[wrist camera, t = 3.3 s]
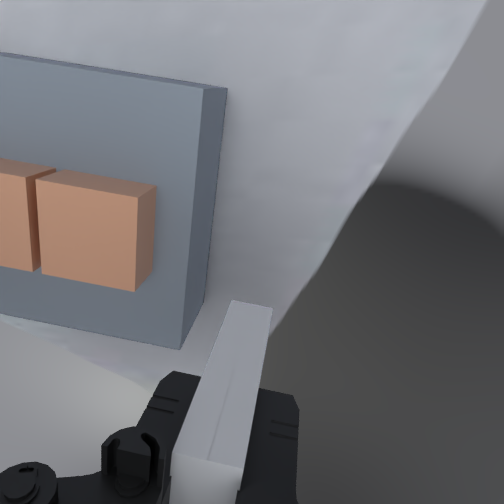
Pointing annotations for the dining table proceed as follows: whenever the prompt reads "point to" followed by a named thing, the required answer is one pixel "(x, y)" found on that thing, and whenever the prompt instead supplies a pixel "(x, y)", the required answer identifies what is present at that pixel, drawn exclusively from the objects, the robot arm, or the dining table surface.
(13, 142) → the blue-grey square block
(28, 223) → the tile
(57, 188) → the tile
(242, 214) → the dining table surface
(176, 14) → the dining table surface
